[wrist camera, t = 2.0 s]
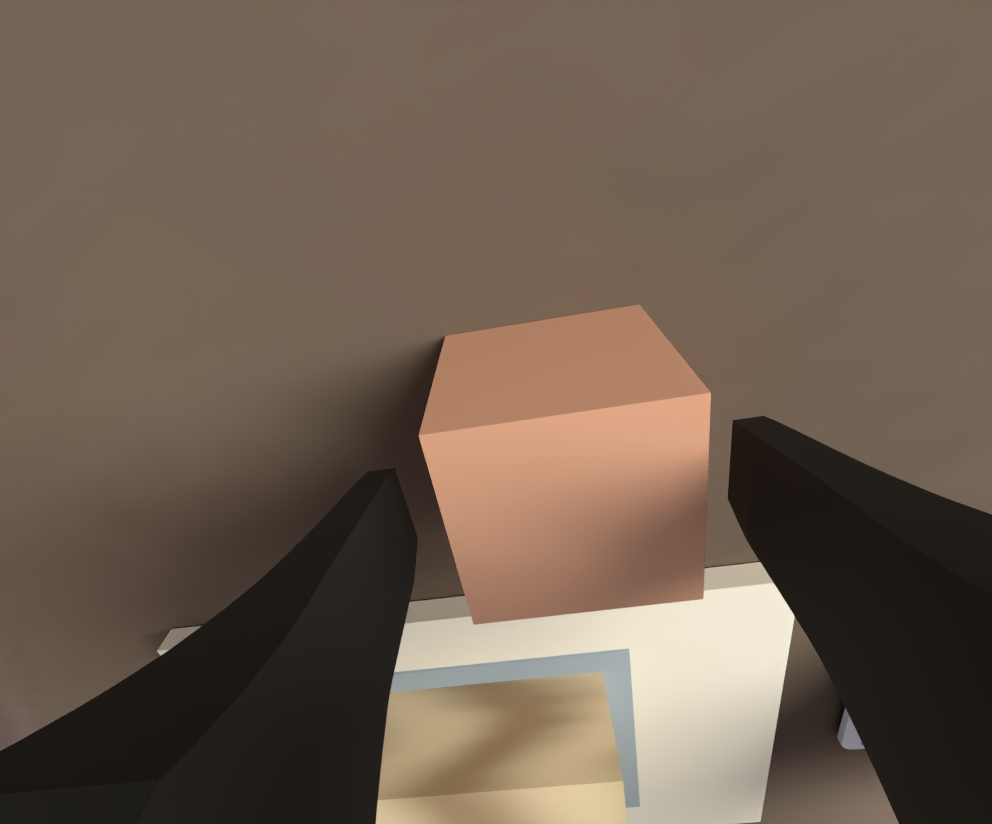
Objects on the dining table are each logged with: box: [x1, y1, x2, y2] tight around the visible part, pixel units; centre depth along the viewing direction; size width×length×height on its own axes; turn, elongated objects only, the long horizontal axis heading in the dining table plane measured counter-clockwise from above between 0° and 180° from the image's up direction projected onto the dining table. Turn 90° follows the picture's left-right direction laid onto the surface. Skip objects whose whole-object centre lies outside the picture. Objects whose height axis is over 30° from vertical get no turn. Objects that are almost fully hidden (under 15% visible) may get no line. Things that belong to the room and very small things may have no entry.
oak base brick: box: [376, 672, 627, 824], centre depth 19 cm, size 9×9×4 cm
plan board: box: [157, 562, 795, 824], centre depth 21 cm, size 22×16×1 cm
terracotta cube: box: [419, 305, 711, 625], centre depth 12 cm, size 5×5×5 cm
